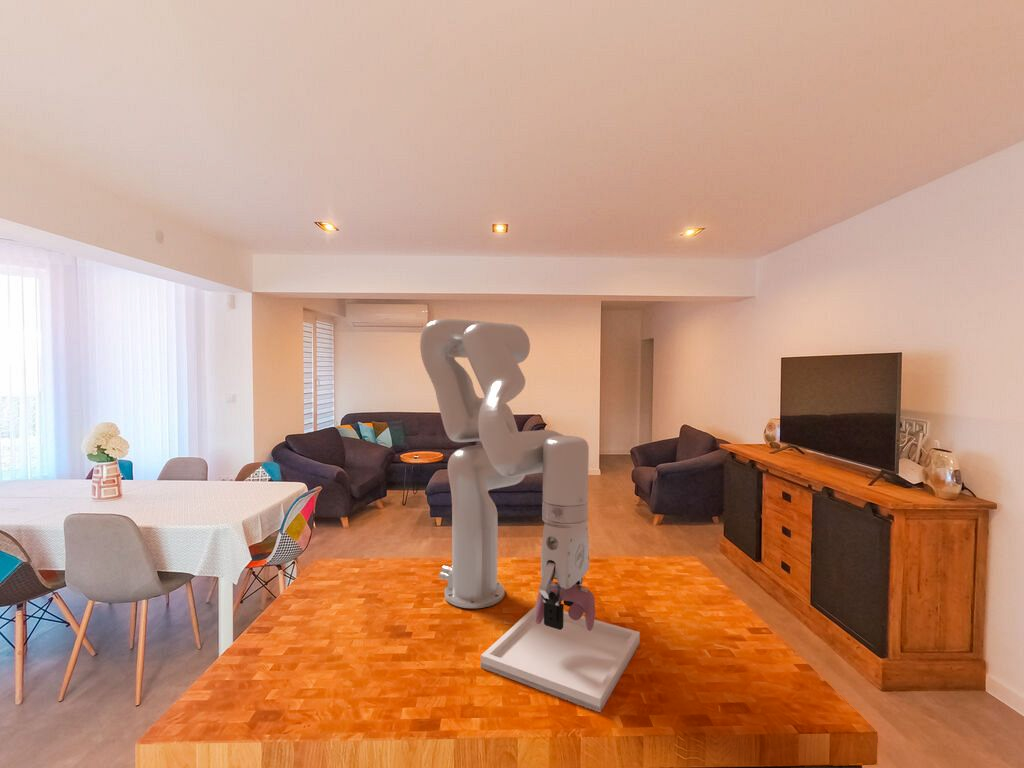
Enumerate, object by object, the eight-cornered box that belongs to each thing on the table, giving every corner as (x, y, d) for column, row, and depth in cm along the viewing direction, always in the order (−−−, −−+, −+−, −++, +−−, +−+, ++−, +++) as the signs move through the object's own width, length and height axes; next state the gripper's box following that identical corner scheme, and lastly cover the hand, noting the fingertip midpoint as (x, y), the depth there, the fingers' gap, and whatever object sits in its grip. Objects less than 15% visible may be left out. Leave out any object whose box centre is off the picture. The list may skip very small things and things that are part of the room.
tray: (480, 667, 77) (480, 655, 77) (537, 613, 95) (537, 603, 95) (600, 713, 67) (600, 698, 67) (639, 643, 85) (639, 632, 85)
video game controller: (595, 630, 81) (596, 585, 83) (593, 631, 76) (595, 584, 79) (536, 623, 83) (540, 579, 86) (532, 623, 79) (536, 577, 82)
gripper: (564, 529, 71) (562, 648, 72) (604, 502, 86) (602, 600, 87) (519, 521, 75) (518, 634, 75) (565, 496, 90) (564, 590, 90)
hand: (563, 615), depth 81 cm, fingers closed on video game controller, 7 cm apart
